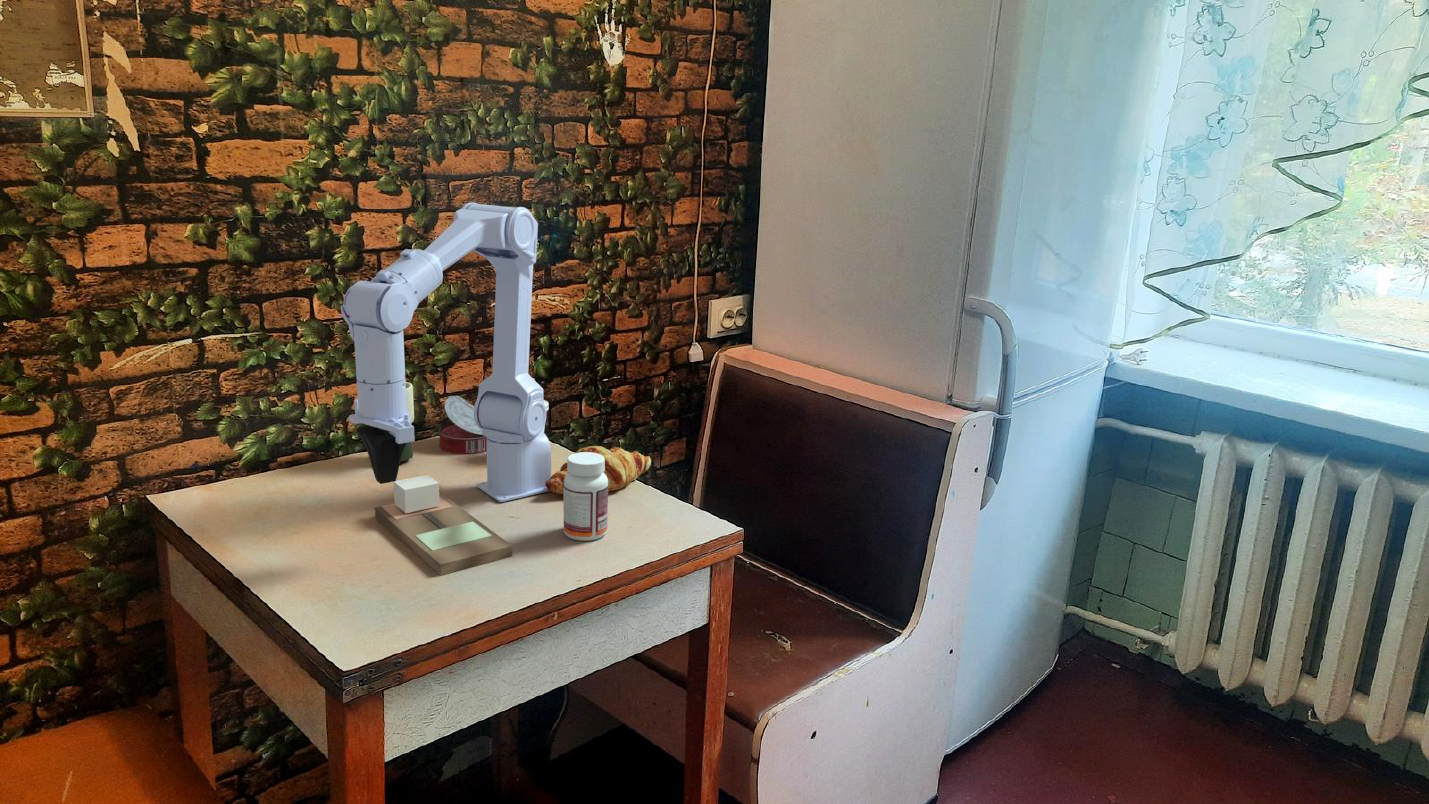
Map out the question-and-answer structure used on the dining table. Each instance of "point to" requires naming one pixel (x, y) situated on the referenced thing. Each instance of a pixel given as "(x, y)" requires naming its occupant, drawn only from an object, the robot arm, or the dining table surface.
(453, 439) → the canned food
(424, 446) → the dining table surface
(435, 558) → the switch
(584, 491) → the pill bottle
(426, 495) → the white block
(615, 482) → the croissant
